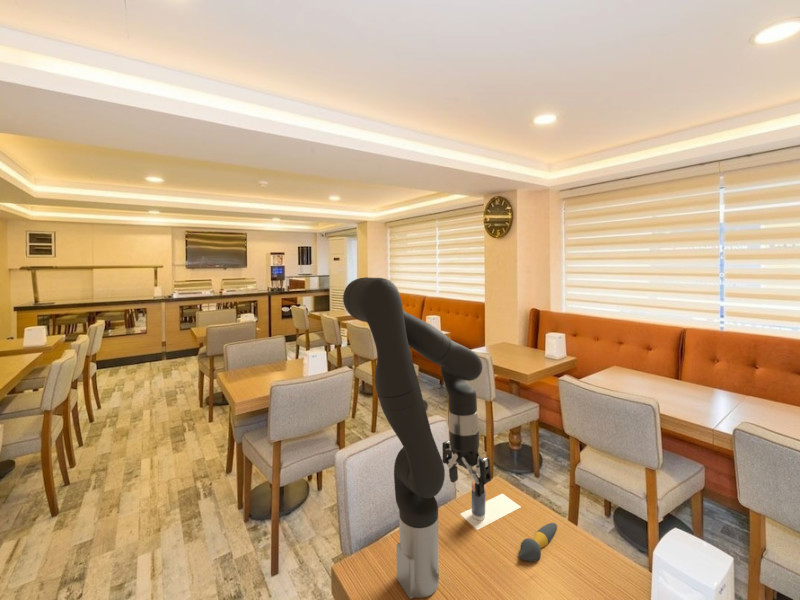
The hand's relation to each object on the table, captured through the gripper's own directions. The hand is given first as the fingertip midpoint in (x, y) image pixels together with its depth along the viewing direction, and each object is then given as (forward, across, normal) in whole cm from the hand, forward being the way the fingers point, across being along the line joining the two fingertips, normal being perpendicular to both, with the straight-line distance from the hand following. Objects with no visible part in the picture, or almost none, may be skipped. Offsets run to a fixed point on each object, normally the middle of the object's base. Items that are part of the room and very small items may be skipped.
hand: (466, 488), depth 92 cm
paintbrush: (+20, +10, +16) cm, 27 cm away
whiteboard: (+18, -6, +17) cm, 26 cm away
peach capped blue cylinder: (+17, -6, +12) cm, 22 cm away
